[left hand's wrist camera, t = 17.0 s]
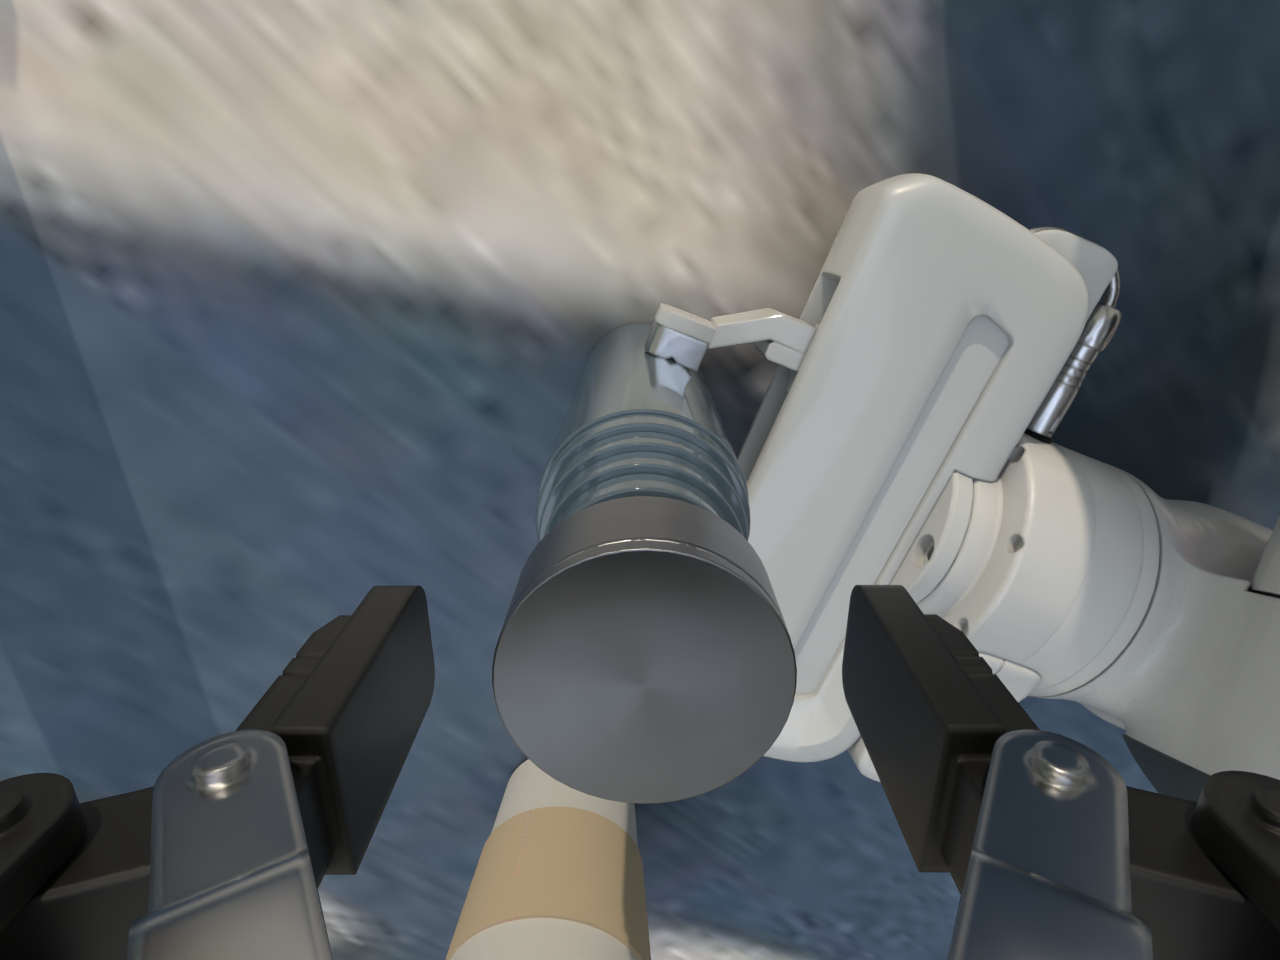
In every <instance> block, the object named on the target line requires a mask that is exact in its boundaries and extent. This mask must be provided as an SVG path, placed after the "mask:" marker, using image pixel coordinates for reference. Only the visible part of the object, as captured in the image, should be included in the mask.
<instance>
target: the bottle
mask: <svg viewBox="0 0 1280 960" xmlns="http://www.w3.org/2000/svg"><path fill="white" fill-rule="evenodd" d="M651 326H652V323H631V324H627V325H623V326H621V327H618V328H616V329H614V330H613V331H611V332H609V333H608V334H606V335H605V336H604V337H603V338H602V339H601V340H600V341H599V342H598V343H597V344H596V345H595V347H594V348H593V349H592V351H591V353H590V355H589V357H588V359H587V362H586V364H585V367H584V369H583V372H582V375H581V377H580V380H579V382H578V385H577V388H576V390H575V393H574V395H573V398H572V401H571V403H570V406H569V408H568V411H567V414H566V416H565V419H564V421H563V424H562V426H561V429H560V432H559V434H558V437H557V439H556V442H555V445H554V447H553V450H552V452H551V455H550V458H549V460H548V463H547V465H546V468H545V471H544V473H543V476H542V478H541V482H540V486H539V490H538V499H537V511H536V532H537V537H538V543H539V542H540V541H541V540H542V539H543V538H544V537H545V536H546V535H547V534H548V533H549V532H550V531H551V530H552V529H553V528H555V527H556V526H557V525H558V524H560V523H561V522H562V521H564V520H565V519H567V518H568V517H570V516H572V515H573V514H575V513H577V512H579V511H581V510H583V509H586V508H588V507H590V506H592V505H595V504H598V503H601V502H605V501H608V500H613V499H619V498H625V497H634V496H652V497H665V498H670V499H675V500H680V501H684V502H687V503H690V504H693V505H696V506H699V507H701V508H703V509H705V510H707V511H709V512H711V513H713V514H715V515H717V516H718V517H720V518H722V519H723V520H724V521H726V522H727V523H729V524H730V525H731V526H732V527H734V528H735V529H736V530H737V531H738V532H739V533H741V534H742V535H743V537H744V538H745V539H746V540H747V541H748V539H749V535H750V524H751V518H750V506H749V495H748V490H747V485H746V481H745V478H744V475H743V473H742V470H741V467H740V465H739V462H738V460H737V457H736V455H735V453H734V450H733V448H732V445H731V443H730V440H729V438H728V435H727V433H726V430H725V428H724V425H723V423H722V420H721V418H720V415H719V413H718V411H717V408H716V406H715V403H714V401H713V398H712V396H711V393H710V391H709V388H708V386H707V383H706V381H705V378H704V376H703V374H702V371H701V369H700V366H699V368H698V370H697V372H696V371H693V370H691V369H688V368H685V367H683V366H681V365H679V364H677V363H676V361H675V360H674V358H673V357H672V358H668V359H663V358H660V357H657V356H654V355H652V354H650V353H648V352H647V351H645V343H646V340H647V337H648V335H649V332H650V329H651Z"/></svg>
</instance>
